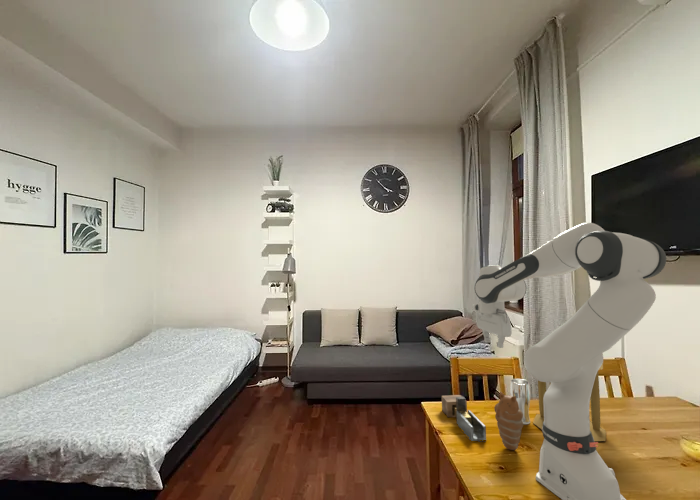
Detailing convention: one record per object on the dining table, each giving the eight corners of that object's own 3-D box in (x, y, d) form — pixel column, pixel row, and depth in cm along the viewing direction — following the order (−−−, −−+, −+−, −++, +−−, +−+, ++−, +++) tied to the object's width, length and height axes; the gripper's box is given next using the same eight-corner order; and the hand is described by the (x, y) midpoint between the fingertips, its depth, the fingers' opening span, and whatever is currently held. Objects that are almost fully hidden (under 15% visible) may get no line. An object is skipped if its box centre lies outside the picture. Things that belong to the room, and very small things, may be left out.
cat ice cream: (491, 448, 113) (490, 393, 114) (503, 440, 118) (501, 387, 119) (519, 459, 106) (517, 401, 107) (529, 450, 111) (527, 394, 112)
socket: (467, 416, 137) (466, 401, 137) (447, 417, 136) (447, 402, 136) (460, 409, 143) (460, 394, 144) (442, 410, 143) (441, 395, 143)
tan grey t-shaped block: (471, 425, 127) (471, 403, 127) (463, 425, 127) (463, 404, 127) (457, 409, 141) (456, 390, 141) (449, 409, 141) (449, 390, 141)
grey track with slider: (486, 441, 118) (485, 426, 118) (471, 441, 117) (471, 427, 118) (470, 423, 131) (469, 410, 131) (456, 424, 130) (456, 410, 131)
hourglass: (539, 438, 119) (537, 365, 120) (527, 411, 141) (524, 350, 142) (620, 448, 112) (616, 370, 113) (594, 418, 134) (591, 353, 135)
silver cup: (535, 425, 129) (533, 384, 129) (516, 425, 129) (514, 384, 129) (525, 416, 136) (524, 378, 136) (508, 416, 136) (506, 378, 136)
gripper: (515, 310, 120) (517, 350, 120) (487, 304, 141) (488, 338, 140) (498, 311, 120) (499, 351, 119) (472, 305, 140) (473, 339, 139)
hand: (493, 344), depth 130 cm, fingers open, 8 cm apart
